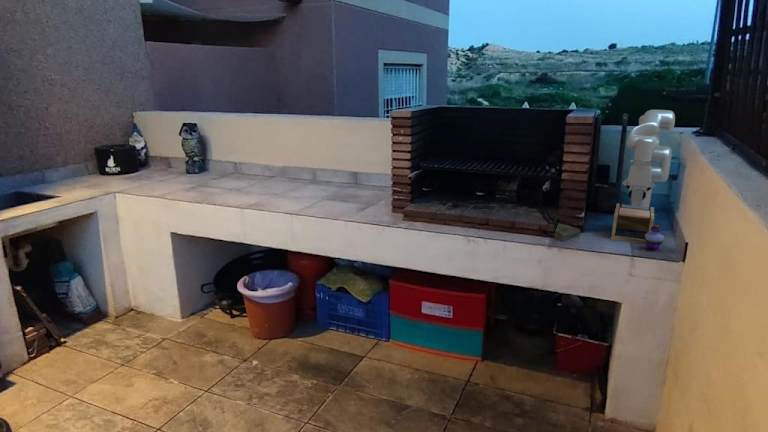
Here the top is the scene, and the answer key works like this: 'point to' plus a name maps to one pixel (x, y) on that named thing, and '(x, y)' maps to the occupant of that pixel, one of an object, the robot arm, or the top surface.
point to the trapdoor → (634, 211)
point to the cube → (637, 194)
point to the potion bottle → (654, 238)
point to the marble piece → (566, 232)
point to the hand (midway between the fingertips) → (636, 198)
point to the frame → (631, 225)
